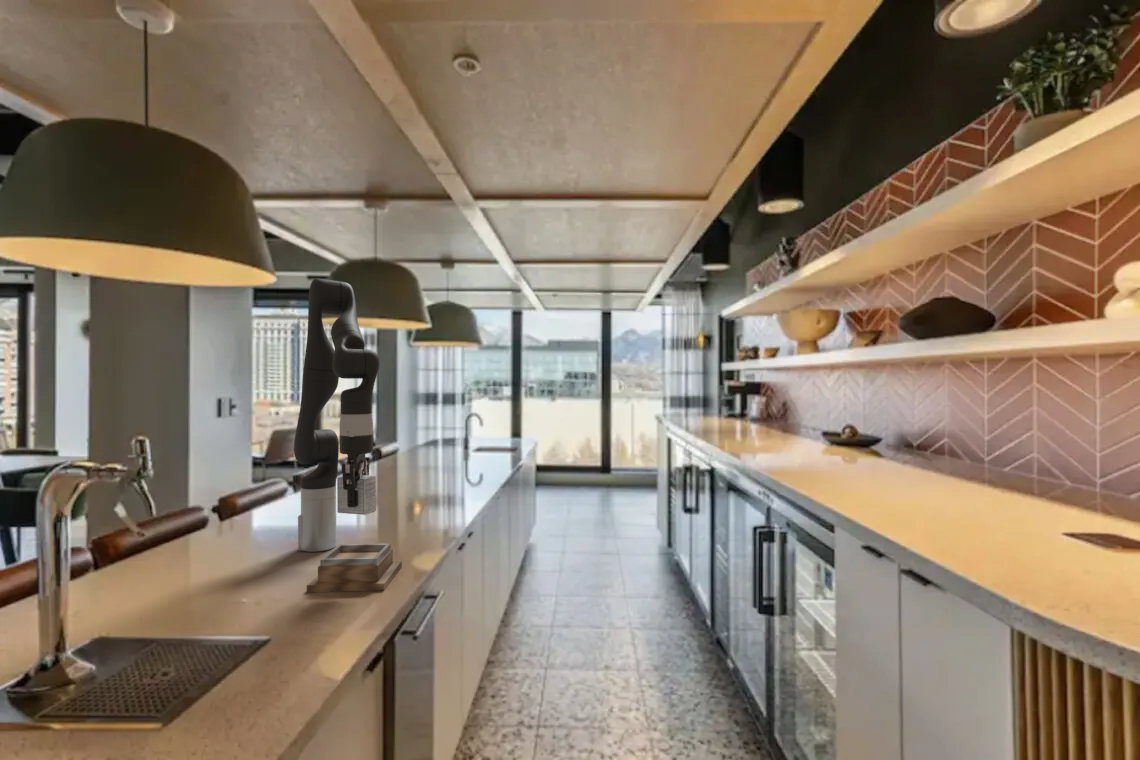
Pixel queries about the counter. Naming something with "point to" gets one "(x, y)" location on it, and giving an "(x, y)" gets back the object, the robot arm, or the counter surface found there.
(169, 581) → the counter surface
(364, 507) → the medicine box
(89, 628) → the counter surface
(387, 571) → the display stand
